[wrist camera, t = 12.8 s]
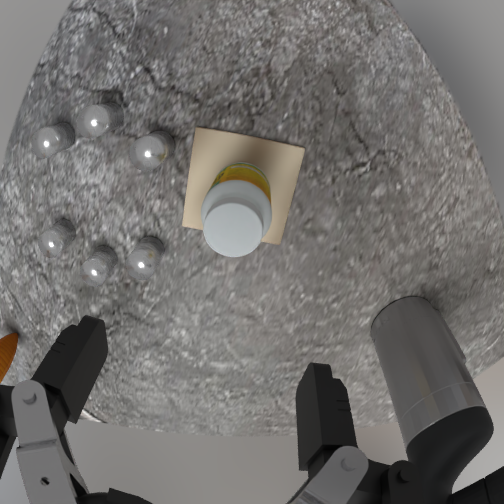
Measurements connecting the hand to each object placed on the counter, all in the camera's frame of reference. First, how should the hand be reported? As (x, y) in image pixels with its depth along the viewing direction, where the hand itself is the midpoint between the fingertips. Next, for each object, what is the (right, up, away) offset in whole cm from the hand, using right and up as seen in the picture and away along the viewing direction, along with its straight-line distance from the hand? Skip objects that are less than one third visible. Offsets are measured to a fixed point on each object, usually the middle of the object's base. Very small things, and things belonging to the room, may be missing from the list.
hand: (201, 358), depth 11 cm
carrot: (-40, -10, +32) cm, 52 cm away
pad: (+1, +10, +19) cm, 21 cm away
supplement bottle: (+1, +10, +18) cm, 21 cm away
